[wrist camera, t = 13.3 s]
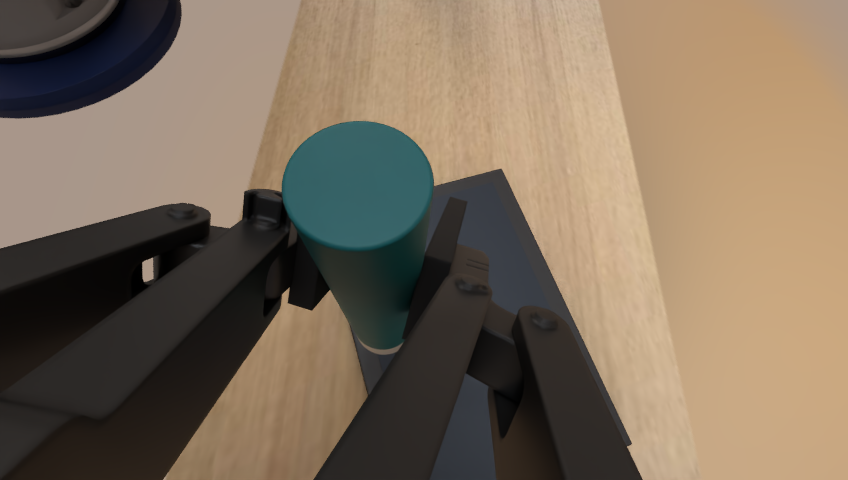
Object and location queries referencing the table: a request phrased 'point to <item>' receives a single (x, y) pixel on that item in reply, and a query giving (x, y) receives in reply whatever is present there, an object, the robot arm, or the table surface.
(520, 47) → the table surface
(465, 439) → the tablet
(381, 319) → the teal cylinder
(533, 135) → the table surface
